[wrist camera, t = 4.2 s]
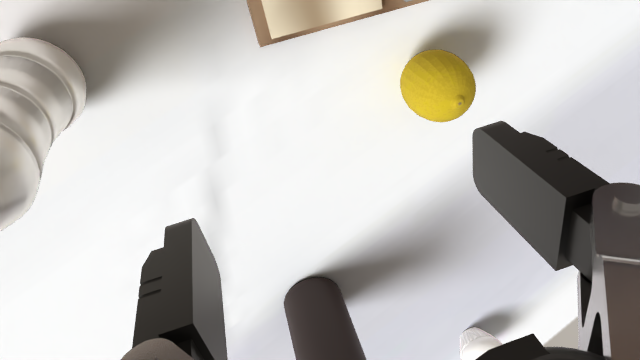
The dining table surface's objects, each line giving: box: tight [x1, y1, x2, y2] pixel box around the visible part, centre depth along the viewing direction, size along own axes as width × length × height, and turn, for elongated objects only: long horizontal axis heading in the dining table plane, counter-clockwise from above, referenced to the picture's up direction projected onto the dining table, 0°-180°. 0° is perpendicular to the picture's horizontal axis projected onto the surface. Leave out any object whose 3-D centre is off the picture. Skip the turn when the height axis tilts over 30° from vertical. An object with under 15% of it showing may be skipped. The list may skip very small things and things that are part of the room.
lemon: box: [400, 50, 476, 122], centre depth 37 cm, size 6×6×8 cm
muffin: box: [459, 327, 502, 360], centre depth 62 cm, size 6×6×7 cm
